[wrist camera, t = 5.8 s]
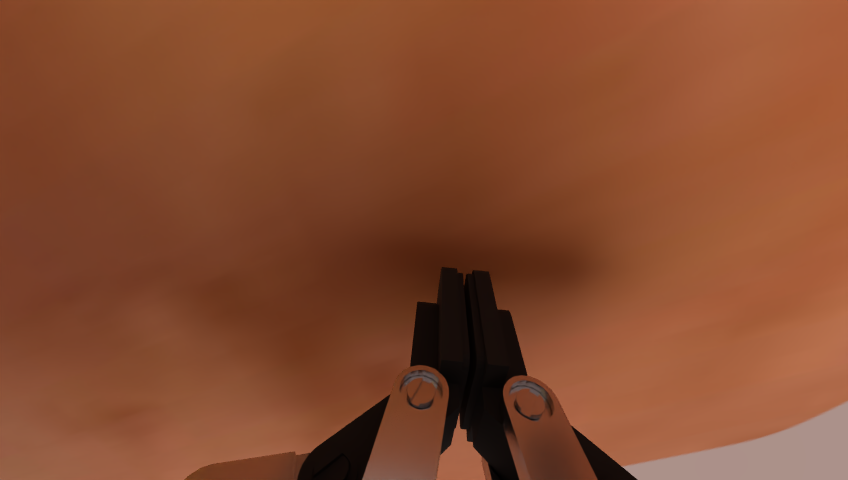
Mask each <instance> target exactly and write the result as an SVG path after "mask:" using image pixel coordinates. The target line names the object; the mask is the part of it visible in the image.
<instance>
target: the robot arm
mask: <svg viewBox="0 0 848 480" xmlns="http://www.w3.org/2000/svg"><path fill="white" fill-rule="evenodd" d="M459 413H460V428H461V429H466V431H467V441H469V442H473V447H474V448H475V449H476V450H477V451H478V453H479V454H480V455H481V456H482V466H483V471H484V475H485V479H486V480H637V479H636V478H635V477H634V476H632V475H631V474H630V473H629V472H628V471H626V470H625V469H624V468H623V467H621V466H620V465H619V464H618V463H617V462H615V461H614V460H613V459H612V458H610V457H609V456H608V455H607V454H606V453H604V452H603V451H602V450H601V449H599V448H598V447H597V446H596V445H595V444H593V443H592V442H591V441H590V440H588V439H587V438H586V437H585V436H584V435H582V434H581V433H580V432H579V431H577V430H576V429H575V428H574V427H573V426H571V425H570V423H569V421H568V419H567V417H566V415H565V413H564V411H563V409H562V407H561V405H560V403H559V401H558V399H557V397H556V396H555V394H554V393H553V391H552V390H551V389H550V388H549V387H548V386H547V385H546V384H544V383H543V382H541V381H540V380H538V379H536V378H533V377H530V376H527V372H526V368H525V365H524V361H523V357H522V354H521V350H520V346H519V342H518V339H517V335H516V331H515V328H514V324H513V320H512V317H511V314H510V312H509V311H508V310H497V306H496V301H495V297H494V292H493V288H492V283H491V279H490V274H489V272H486V271H476V270H473V271H472V274H467V275H466V279H465V285H464V283H463V274H462V273H457V269H455V268H445V267H442V268H441V275H440V283H439V290H438V298H437V304H436V303H426V302H417V310H416V319H415V328H414V337H413V346H412V355H411V364H410V367H409V368H407V369H405V370H403V371H402V372H401V373H400V374H399V375H398V377H397V378H396V380H395V382H394V385H393V388H392V391H391V394H390V395H389V396H387V397H386V398H384V399H383V400H382V401H380V402H379V403H377V404H376V405H375V406H373V407H372V408H371V409H369V410H368V411H366V412H365V413H364V414H362V415H361V416H359V417H358V418H357V419H355V420H354V421H352V422H351V423H350V424H348V425H347V426H345V427H344V428H343V429H341V430H340V431H338V432H337V433H336V434H334V435H333V436H332V437H330V438H329V439H327V440H326V441H325V442H323V443H322V444H320V445H319V446H318V447H316V448H315V449H314V450H313V451H312V452H311V453H307V454H301V455H296V453H295V452H289V453H282V454H275V455H269V456H262V457H256V458H249V459H243V460H236V461H229V462H223V463H216V464H211V465H208V466H205V467H202V468H200V469H198V470H197V471H195V472H194V473H192V474H191V475H189V476H188V477H187V478H186V479H185V480H436V479H437V472H438V465H439V459H440V455H441V454H442V453H443V452H444V451H445V450H446V449H447V448H448V447H449V446H450V445H451V442H452V437H453V433H454V428H456V424H457V420H458V416H459Z"/></svg>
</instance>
